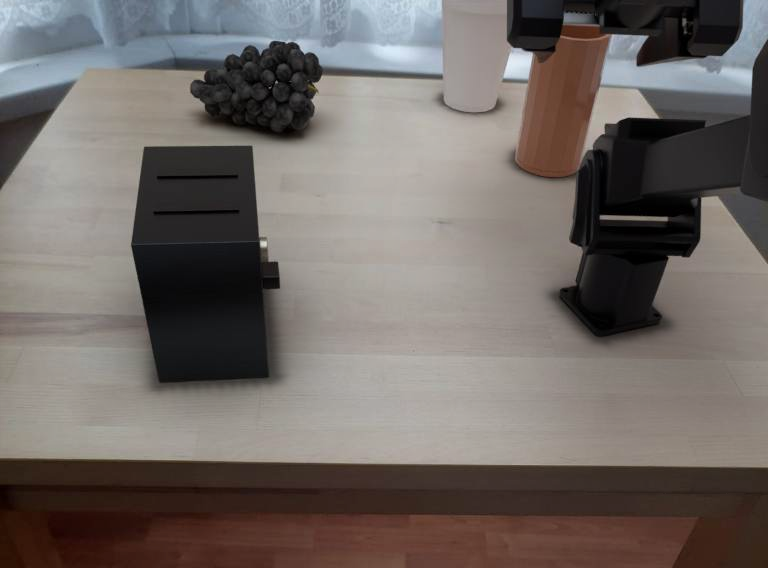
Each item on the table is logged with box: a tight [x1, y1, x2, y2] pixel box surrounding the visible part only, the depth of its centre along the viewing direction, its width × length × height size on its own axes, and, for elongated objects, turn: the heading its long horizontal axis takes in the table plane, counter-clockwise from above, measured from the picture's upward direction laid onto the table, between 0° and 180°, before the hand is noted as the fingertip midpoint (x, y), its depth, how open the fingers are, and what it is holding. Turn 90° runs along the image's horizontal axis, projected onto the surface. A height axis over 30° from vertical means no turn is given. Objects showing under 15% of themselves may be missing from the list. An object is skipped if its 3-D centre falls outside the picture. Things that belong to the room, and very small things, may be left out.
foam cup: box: [441, 0, 513, 114], centre depth 90 cm, size 10×9×13 cm
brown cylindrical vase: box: [514, 25, 613, 178], centre depth 80 cm, size 7×7×13 cm
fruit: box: [189, 40, 324, 133], centre depth 85 cm, size 9×8×15 cm
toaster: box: [130, 145, 281, 383], centre depth 58 cm, size 9×14×11 cm, turn 8°
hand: (589, 59), depth 71 cm, fingers open, 9 cm apart
